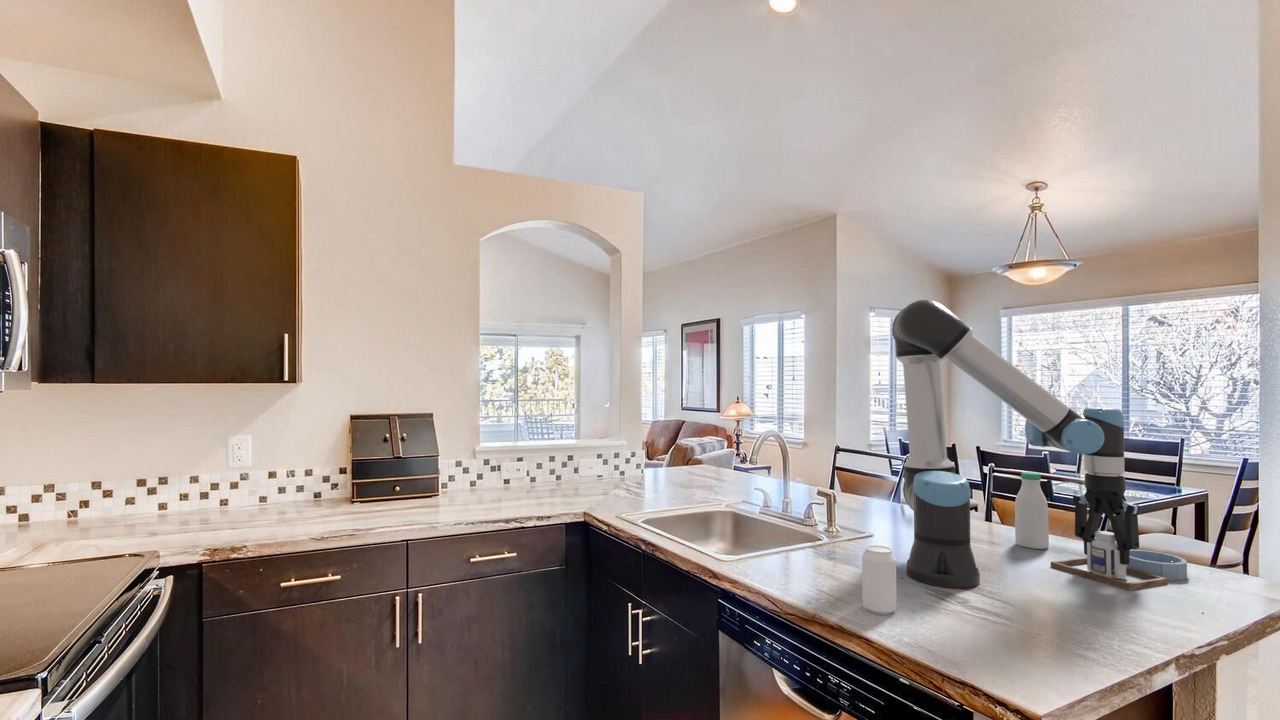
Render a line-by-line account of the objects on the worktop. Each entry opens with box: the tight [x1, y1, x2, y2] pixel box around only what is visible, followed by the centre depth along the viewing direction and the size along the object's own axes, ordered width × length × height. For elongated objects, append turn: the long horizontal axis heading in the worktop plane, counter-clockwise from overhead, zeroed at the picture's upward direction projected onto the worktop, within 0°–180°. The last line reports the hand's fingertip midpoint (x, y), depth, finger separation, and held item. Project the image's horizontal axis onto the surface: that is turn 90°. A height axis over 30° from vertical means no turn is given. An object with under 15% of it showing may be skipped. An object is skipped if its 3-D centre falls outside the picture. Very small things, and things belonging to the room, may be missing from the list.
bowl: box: [1126, 549, 1188, 581], centre depth 145 cm, size 12×12×4 cm
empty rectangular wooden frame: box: [1050, 556, 1168, 591], centre depth 143 cm, size 13×18×1 cm
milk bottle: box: [1014, 471, 1050, 550], centre depth 168 cm, size 8×8×20 cm
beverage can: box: [861, 544, 897, 616], centre depth 120 cm, size 6×6×12 cm
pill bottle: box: [1091, 530, 1118, 579], centre depth 143 cm, size 5×5×10 cm
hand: (1106, 573), depth 143 cm, fingers closed on pill bottle, 5 cm apart
